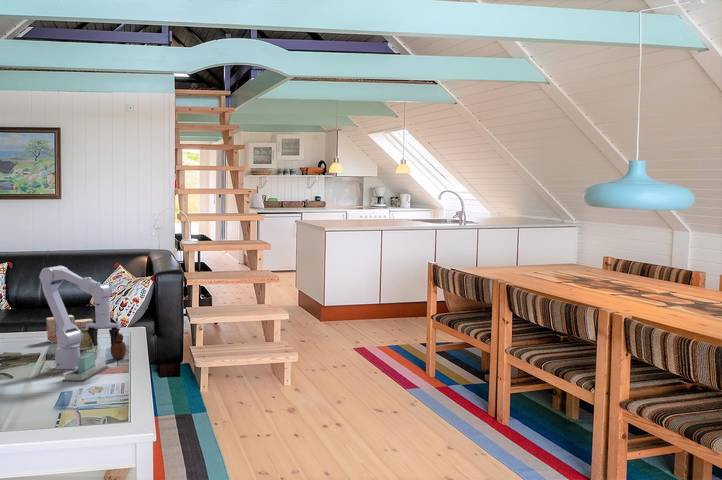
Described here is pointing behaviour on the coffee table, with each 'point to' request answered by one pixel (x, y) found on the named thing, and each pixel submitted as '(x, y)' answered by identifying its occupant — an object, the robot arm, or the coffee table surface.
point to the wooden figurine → (118, 347)
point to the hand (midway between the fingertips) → (104, 345)
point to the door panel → (86, 362)
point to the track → (84, 373)
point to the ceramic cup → (85, 339)
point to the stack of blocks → (53, 326)
